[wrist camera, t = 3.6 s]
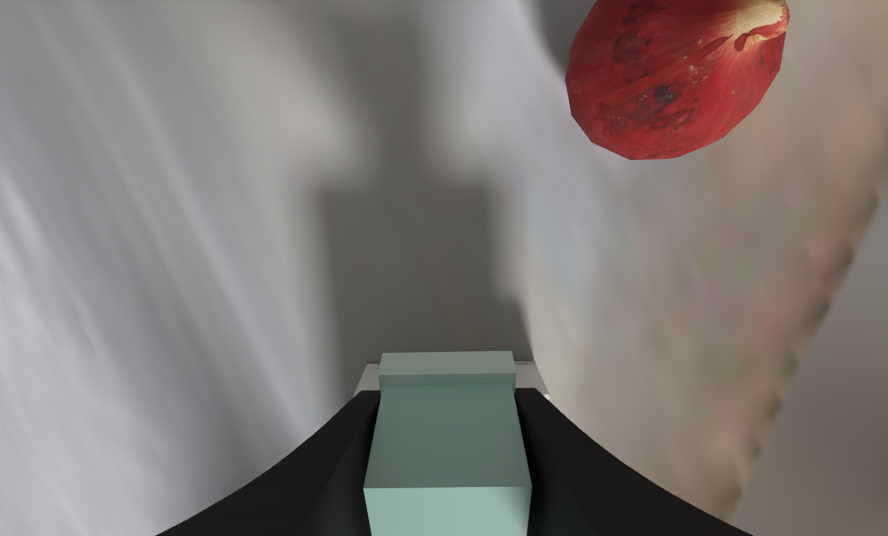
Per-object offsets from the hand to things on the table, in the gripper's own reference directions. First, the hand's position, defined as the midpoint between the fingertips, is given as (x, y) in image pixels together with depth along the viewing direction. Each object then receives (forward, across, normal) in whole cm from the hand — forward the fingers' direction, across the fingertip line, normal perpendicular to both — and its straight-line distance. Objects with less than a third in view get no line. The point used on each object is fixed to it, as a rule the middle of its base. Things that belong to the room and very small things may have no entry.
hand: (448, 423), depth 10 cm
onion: (+9, -7, -9) cm, 15 cm away
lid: (+3, 0, +6) cm, 7 cm away
